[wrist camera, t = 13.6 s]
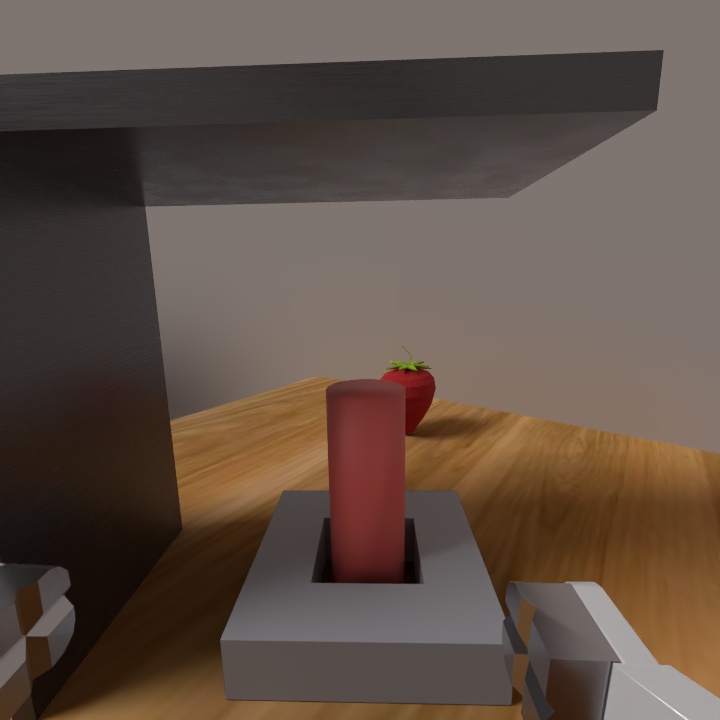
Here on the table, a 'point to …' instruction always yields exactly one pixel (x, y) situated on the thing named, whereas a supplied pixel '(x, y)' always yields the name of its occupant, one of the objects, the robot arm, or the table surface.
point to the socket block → (367, 616)
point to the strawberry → (413, 389)
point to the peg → (367, 480)
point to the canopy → (213, 187)
